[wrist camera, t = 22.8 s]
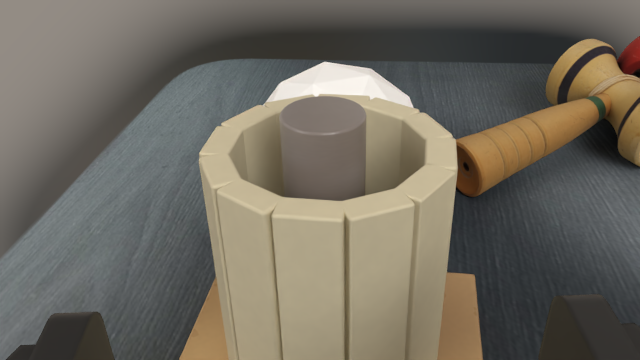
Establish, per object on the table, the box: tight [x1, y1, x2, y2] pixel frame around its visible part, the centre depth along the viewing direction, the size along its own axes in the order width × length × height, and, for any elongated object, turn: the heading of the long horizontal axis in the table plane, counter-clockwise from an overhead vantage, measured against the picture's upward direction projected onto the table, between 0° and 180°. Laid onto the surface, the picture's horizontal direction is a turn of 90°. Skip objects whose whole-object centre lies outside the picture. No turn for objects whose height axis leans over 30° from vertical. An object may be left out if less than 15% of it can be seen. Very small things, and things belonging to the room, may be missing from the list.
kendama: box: [456, 36, 640, 197], centre depth 33 cm, size 8×6×18 cm
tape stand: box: [179, 96, 483, 360], centre depth 18 cm, size 10×10×10 cm
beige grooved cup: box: [199, 94, 458, 360], centre depth 18 cm, size 7×7×8 cm
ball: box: [263, 62, 413, 108], centre depth 27 cm, size 8×8×8 cm
